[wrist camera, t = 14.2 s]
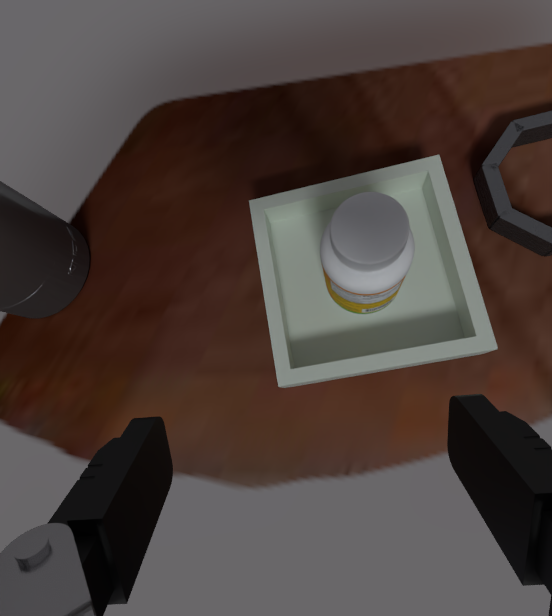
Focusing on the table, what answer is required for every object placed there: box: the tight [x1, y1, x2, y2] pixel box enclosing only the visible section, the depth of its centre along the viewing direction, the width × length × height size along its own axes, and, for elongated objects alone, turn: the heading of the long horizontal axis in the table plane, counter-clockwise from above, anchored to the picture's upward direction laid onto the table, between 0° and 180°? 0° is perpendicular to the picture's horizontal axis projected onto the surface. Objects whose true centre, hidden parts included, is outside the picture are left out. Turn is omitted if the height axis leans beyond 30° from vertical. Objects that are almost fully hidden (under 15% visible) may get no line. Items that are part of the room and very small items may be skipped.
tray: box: [249, 155, 498, 388], centre depth 28 cm, size 14×14×3 cm
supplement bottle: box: [320, 192, 415, 315], centre depth 24 cm, size 5×5×10 cm
